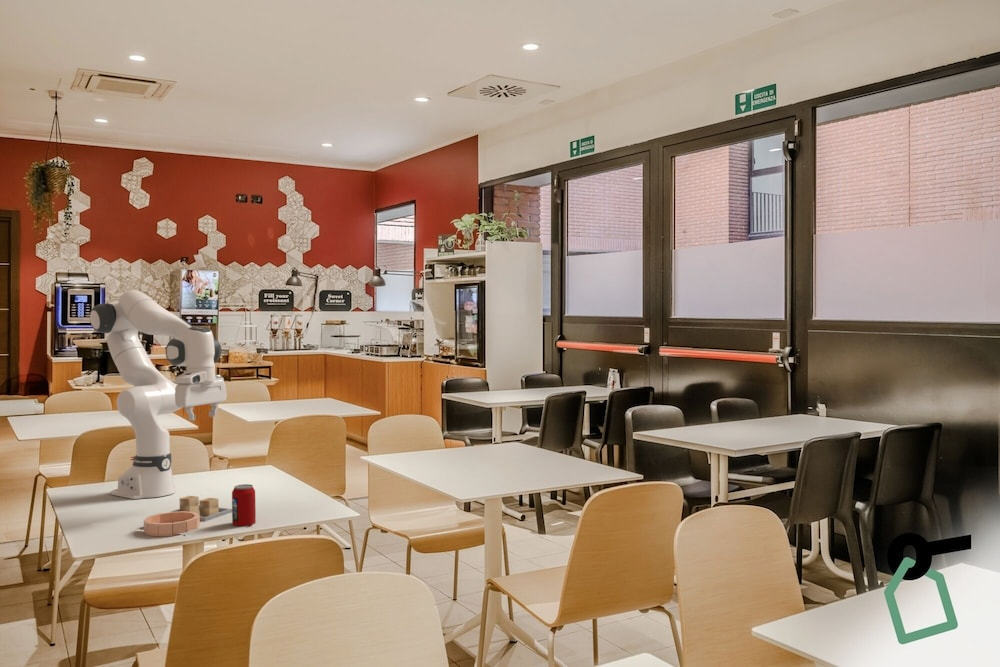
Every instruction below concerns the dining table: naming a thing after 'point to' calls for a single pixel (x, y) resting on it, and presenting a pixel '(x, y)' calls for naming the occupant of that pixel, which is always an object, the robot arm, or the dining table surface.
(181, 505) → the block left
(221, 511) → the tray
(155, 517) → the bowl
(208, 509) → the block right
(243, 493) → the beverage can
